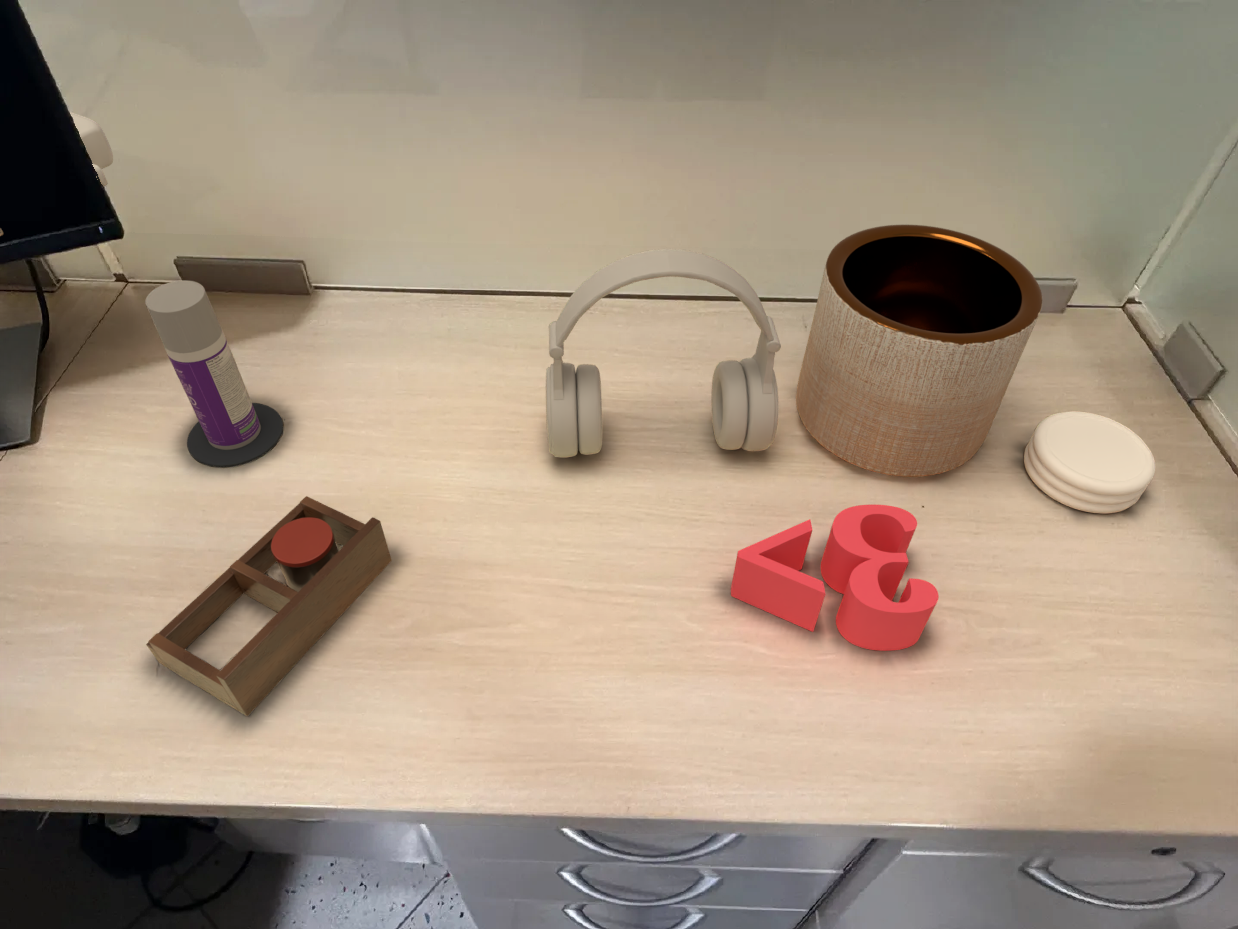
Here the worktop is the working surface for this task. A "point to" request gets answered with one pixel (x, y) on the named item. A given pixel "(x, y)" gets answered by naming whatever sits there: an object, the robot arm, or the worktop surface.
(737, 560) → the letters
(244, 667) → the spice rack
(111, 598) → the worktop surface
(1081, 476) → the coaster
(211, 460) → the mat
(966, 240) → the planter
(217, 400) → the container
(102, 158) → the robot arm
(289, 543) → the spice jar
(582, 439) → the headphones
